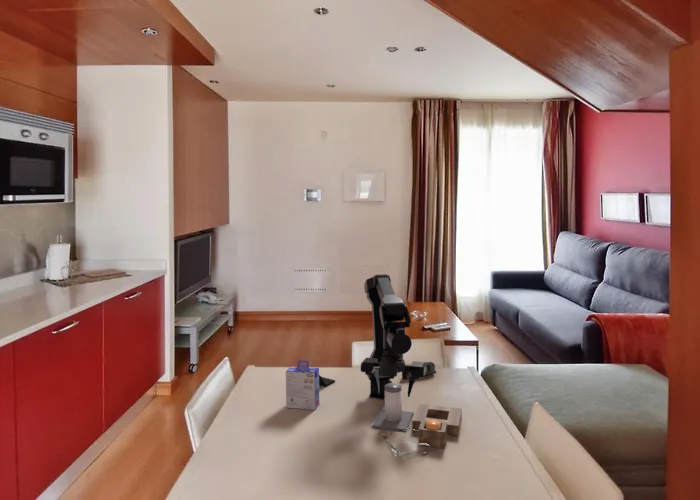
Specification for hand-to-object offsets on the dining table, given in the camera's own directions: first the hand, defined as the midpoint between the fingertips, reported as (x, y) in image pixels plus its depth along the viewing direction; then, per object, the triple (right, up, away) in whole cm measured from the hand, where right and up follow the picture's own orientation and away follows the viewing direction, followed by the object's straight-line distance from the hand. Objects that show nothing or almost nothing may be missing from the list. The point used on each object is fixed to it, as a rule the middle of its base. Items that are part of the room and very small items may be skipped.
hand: (393, 395), depth 149 cm
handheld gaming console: (-25, -5, +32) cm, 41 cm away
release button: (+10, -8, -12) cm, 18 cm away
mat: (0, -8, +1) cm, 8 cm away
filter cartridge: (0, -7, +1) cm, 7 cm away
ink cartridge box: (-28, -7, +12) cm, 31 cm away
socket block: (+12, -8, -6) cm, 15 cm away
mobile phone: (+13, -4, +38) cm, 41 cm away
